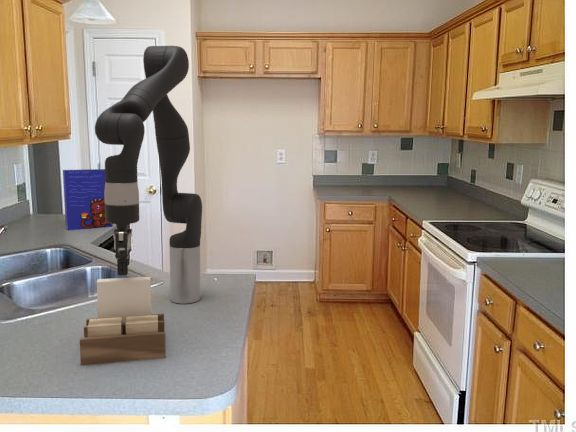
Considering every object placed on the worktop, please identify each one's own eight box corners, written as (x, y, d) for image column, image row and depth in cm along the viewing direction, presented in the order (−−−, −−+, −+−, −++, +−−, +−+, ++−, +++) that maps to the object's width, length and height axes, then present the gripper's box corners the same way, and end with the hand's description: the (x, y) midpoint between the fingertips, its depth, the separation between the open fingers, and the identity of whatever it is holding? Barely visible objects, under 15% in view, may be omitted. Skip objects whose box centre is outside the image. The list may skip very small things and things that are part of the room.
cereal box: (109, 224, 270) (107, 168, 265) (112, 226, 265) (110, 169, 260) (65, 228, 258) (62, 169, 253) (67, 230, 253) (64, 170, 248)
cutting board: (100, 343, 122) (97, 279, 119) (151, 339, 125) (150, 276, 122) (99, 347, 119) (96, 282, 117) (151, 343, 122) (150, 279, 120)
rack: (88, 346, 123) (86, 318, 121) (164, 340, 127) (163, 313, 126) (80, 370, 111) (79, 340, 109) (165, 362, 115) (165, 333, 114)
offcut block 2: (127, 349, 119) (126, 316, 117) (158, 346, 121) (157, 314, 119) (126, 357, 114) (125, 324, 113) (158, 354, 116) (157, 321, 115)
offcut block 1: (91, 352, 117) (89, 319, 115) (123, 349, 118) (122, 317, 117) (88, 360, 112) (87, 326, 111) (122, 358, 114) (120, 324, 113)
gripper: (138, 206, 110) (139, 277, 113) (139, 197, 124) (141, 261, 127) (101, 206, 108) (104, 279, 111) (107, 197, 122) (109, 262, 125)
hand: (123, 269), depth 119 cm, fingers open, 8 cm apart
